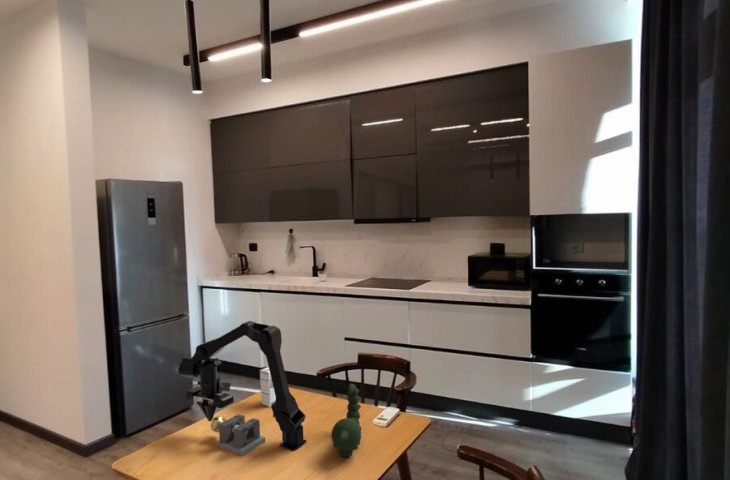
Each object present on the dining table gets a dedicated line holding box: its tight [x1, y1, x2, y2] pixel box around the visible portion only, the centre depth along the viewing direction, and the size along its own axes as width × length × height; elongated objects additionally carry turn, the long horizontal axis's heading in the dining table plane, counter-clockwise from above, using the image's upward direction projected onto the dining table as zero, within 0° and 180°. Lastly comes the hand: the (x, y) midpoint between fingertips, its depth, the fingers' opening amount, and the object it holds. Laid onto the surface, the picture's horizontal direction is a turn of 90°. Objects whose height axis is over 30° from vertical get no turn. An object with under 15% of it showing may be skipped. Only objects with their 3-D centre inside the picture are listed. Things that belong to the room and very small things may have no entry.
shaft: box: [210, 415, 251, 438], centre depth 146 cm, size 15×5×5 cm, turn 60°
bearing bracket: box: [217, 413, 266, 457], centre depth 144 cm, size 12×10×8 cm
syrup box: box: [259, 366, 276, 408], centre depth 177 cm, size 6×6×14 cm
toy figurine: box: [331, 383, 362, 458], centre depth 141 cm, size 9×19×25 cm
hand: (210, 420), depth 151 cm, fingers closed
